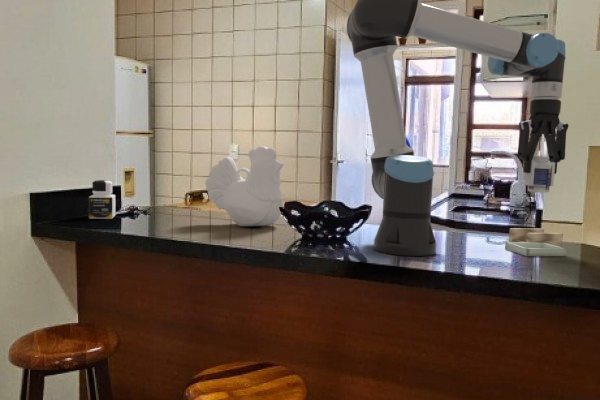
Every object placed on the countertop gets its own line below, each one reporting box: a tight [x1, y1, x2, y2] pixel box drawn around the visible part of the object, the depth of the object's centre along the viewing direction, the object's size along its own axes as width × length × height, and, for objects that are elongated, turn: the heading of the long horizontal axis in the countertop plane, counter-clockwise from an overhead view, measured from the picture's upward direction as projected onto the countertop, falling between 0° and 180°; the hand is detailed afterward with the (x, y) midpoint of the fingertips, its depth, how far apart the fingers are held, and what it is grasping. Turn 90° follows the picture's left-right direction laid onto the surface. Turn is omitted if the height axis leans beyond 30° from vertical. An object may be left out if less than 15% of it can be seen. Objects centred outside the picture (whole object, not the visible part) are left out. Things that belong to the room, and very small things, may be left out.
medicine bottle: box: [88, 179, 116, 220], centre depth 170 cm, size 7×7×12 cm
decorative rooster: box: [204, 145, 285, 227], centre depth 164 cm, size 25×16×25 cm, turn 63°
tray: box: [504, 241, 567, 257], centre depth 134 cm, size 11×9×2 cm
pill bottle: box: [527, 155, 551, 194], centre depth 144 cm, size 5×5×10 cm
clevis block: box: [508, 227, 564, 248], centre depth 145 cm, size 10×9×4 cm
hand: (538, 185), depth 144 cm, fingers closed on pill bottle, 5 cm apart
